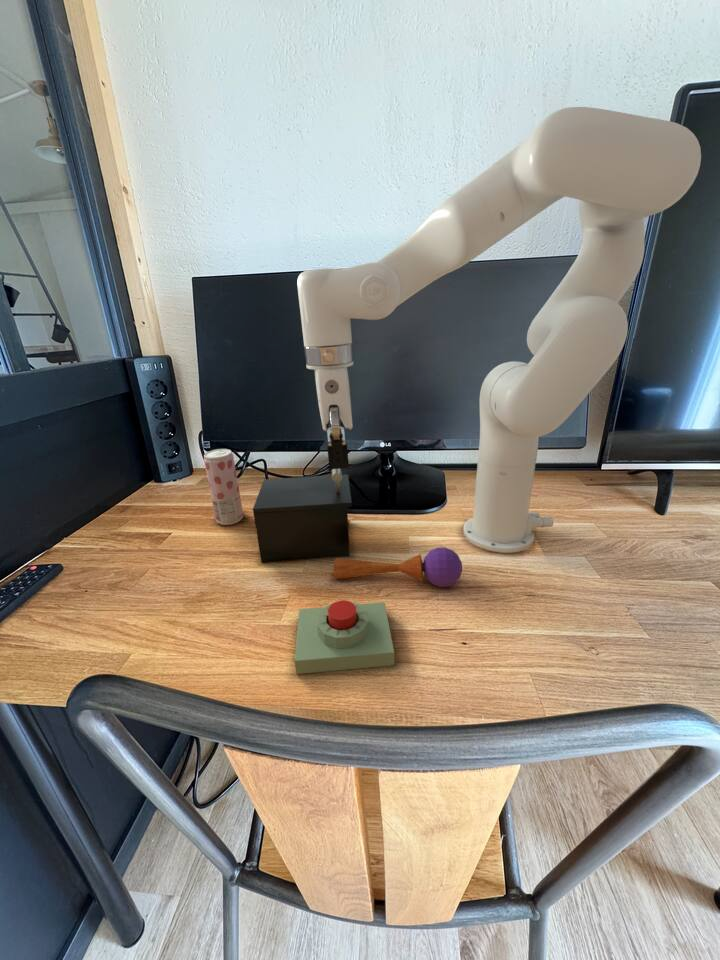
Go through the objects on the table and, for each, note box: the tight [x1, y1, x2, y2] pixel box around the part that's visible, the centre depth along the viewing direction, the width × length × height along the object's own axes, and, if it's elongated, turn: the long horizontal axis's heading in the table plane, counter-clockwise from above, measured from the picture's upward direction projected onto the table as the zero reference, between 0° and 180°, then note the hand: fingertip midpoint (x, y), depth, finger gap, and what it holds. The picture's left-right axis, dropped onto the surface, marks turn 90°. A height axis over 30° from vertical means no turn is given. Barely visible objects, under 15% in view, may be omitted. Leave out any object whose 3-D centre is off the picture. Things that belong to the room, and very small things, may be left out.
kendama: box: [333, 546, 463, 588], centre depth 63 cm, size 6×6×20 cm
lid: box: [252, 468, 353, 514], centre depth 71 cm, size 16×13×5 cm
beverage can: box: [203, 448, 244, 526], centre depth 82 cm, size 6×6×15 cm
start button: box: [328, 599, 357, 631], centre depth 51 cm, size 4×4×2 cm
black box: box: [253, 507, 351, 564], centre depth 74 cm, size 16×13×10 cm
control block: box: [294, 600, 395, 675], centre depth 52 cm, size 12×9×4 cm
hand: (338, 457), depth 70 cm, fingers open, 9 cm apart
